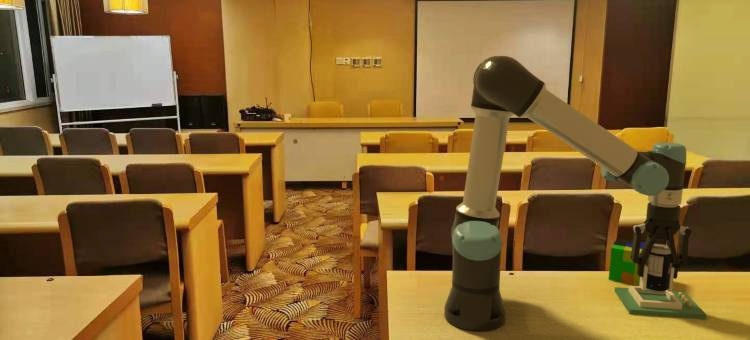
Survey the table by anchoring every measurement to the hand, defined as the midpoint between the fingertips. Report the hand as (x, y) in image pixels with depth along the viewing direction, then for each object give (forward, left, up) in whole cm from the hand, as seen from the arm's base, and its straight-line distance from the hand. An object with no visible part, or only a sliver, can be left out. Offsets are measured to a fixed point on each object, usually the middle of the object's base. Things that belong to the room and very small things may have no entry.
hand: (655, 288), depth 141 cm
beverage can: (0, 0, -1) cm, 1 cm away
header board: (+1, 0, -4) cm, 4 cm away
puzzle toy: (-1, +18, -5) cm, 19 cm away
